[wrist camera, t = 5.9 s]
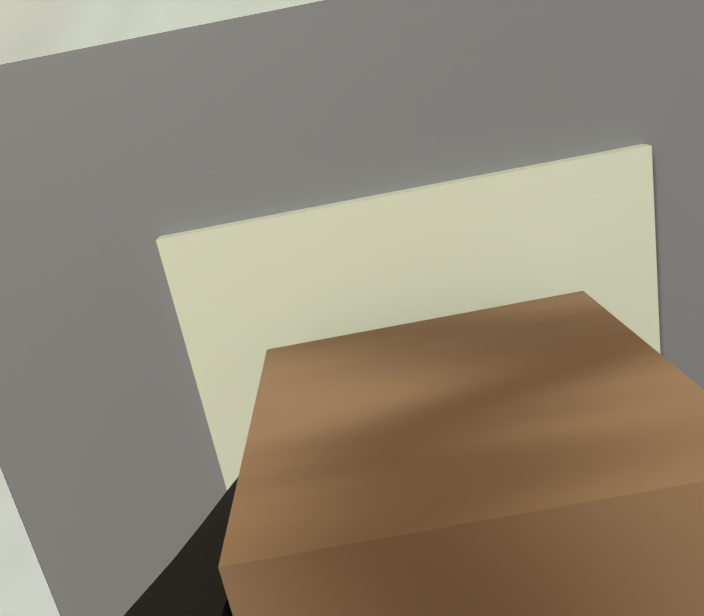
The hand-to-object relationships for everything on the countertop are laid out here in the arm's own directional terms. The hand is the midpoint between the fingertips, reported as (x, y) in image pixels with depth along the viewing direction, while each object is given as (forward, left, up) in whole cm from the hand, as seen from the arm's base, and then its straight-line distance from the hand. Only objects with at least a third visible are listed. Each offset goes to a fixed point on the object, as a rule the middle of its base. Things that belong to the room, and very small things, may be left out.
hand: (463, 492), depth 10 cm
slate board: (0, 0, -5) cm, 5 cm away
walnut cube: (0, 0, -2) cm, 2 cm away
